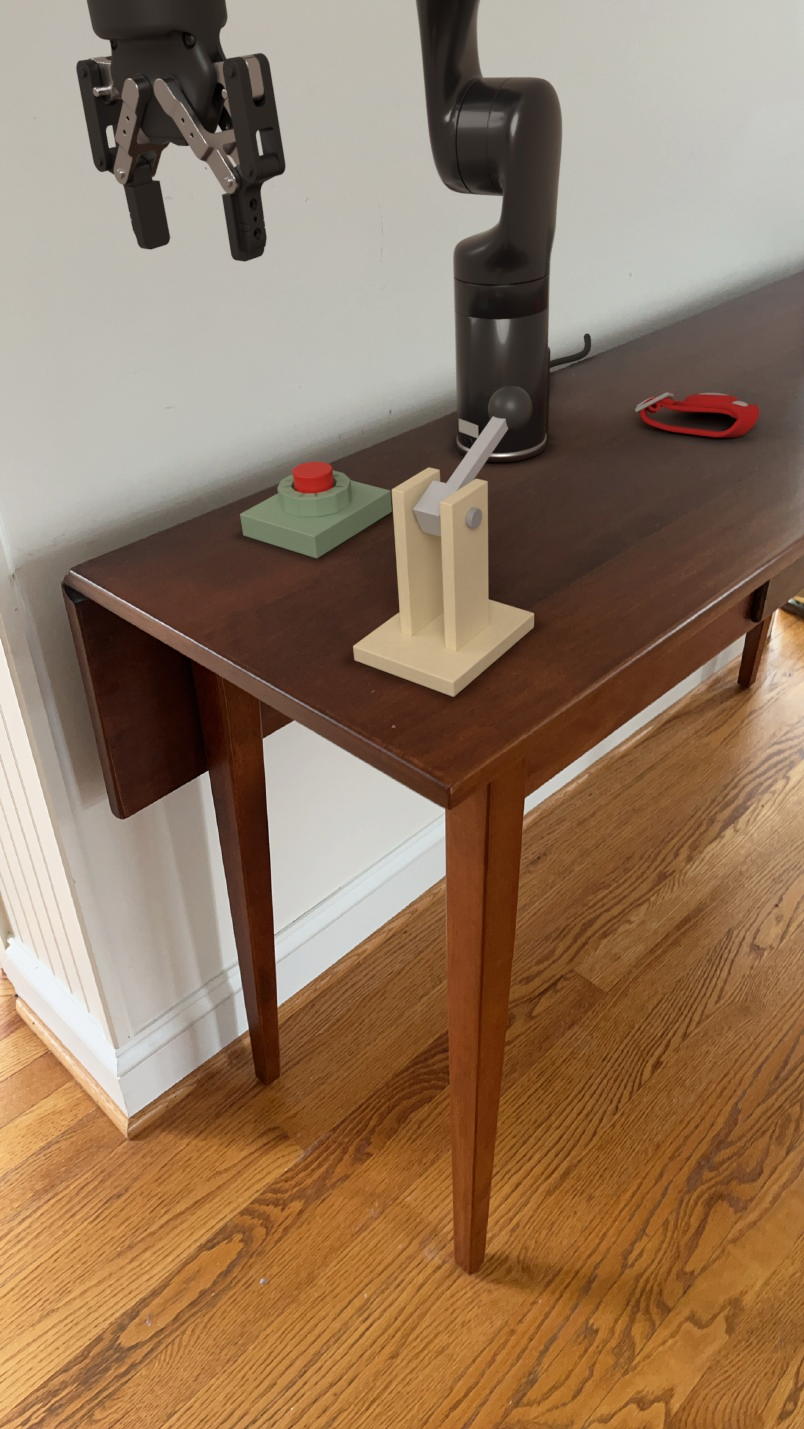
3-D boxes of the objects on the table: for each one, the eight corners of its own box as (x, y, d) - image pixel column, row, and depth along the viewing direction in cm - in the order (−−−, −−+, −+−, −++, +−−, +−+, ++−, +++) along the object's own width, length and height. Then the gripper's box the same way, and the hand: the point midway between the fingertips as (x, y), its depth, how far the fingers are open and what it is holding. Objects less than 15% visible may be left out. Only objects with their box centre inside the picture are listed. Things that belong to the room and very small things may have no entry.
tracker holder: (712, 393, 114) (782, 395, 106) (707, 434, 115) (775, 439, 107) (627, 389, 109) (693, 390, 100) (623, 432, 110) (688, 437, 102)
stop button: (312, 476, 95) (310, 458, 94) (342, 484, 93) (340, 466, 92) (286, 490, 93) (284, 472, 92) (316, 498, 91) (314, 480, 90)
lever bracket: (438, 597, 83) (432, 446, 76) (534, 627, 78) (538, 469, 71) (353, 660, 76) (337, 501, 69) (453, 697, 72) (448, 531, 64)
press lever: (506, 406, 77) (497, 373, 74) (544, 413, 75) (535, 379, 72) (418, 534, 72) (404, 503, 70) (455, 544, 71) (443, 513, 68)
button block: (319, 492, 101) (315, 453, 99) (392, 511, 97) (389, 472, 94) (242, 535, 94) (236, 495, 92) (317, 559, 90) (312, 517, 87)
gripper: (289, -85, 53) (324, 248, 63) (112, -66, 61) (168, 230, 70) (183, -80, 49) (238, 279, 58) (5, -60, 56) (81, 256, 66)
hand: (200, 252), depth 64 cm, fingers open, 8 cm apart
